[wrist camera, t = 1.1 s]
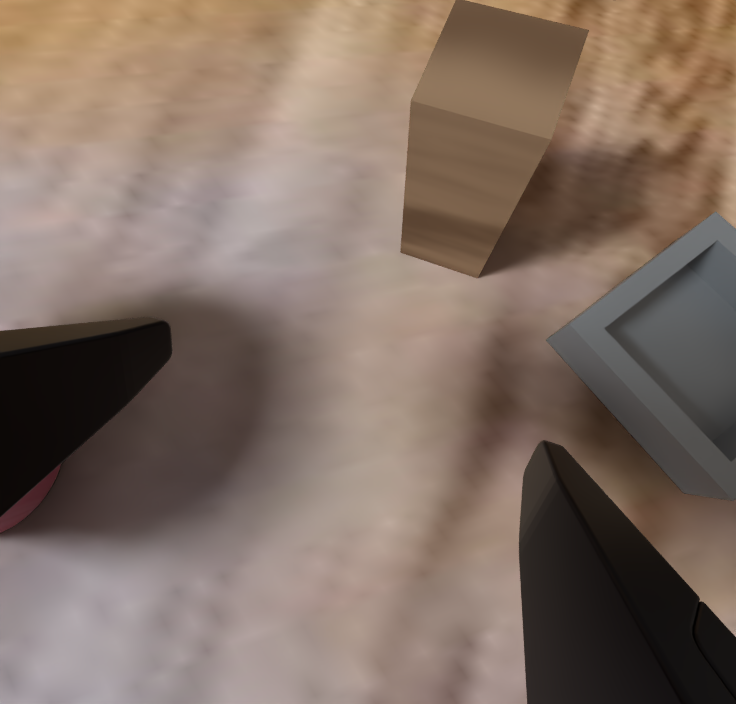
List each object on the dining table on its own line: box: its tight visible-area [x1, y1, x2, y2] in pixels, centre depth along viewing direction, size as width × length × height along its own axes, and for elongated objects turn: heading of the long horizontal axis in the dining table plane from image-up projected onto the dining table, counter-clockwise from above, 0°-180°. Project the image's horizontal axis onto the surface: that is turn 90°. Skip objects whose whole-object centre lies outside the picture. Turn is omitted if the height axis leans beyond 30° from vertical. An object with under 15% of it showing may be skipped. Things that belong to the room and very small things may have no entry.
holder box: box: [546, 212, 736, 501], centre depth 21 cm, size 10×10×3 cm
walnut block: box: [401, 0, 589, 278], centre depth 19 cm, size 5×5×11 cm
